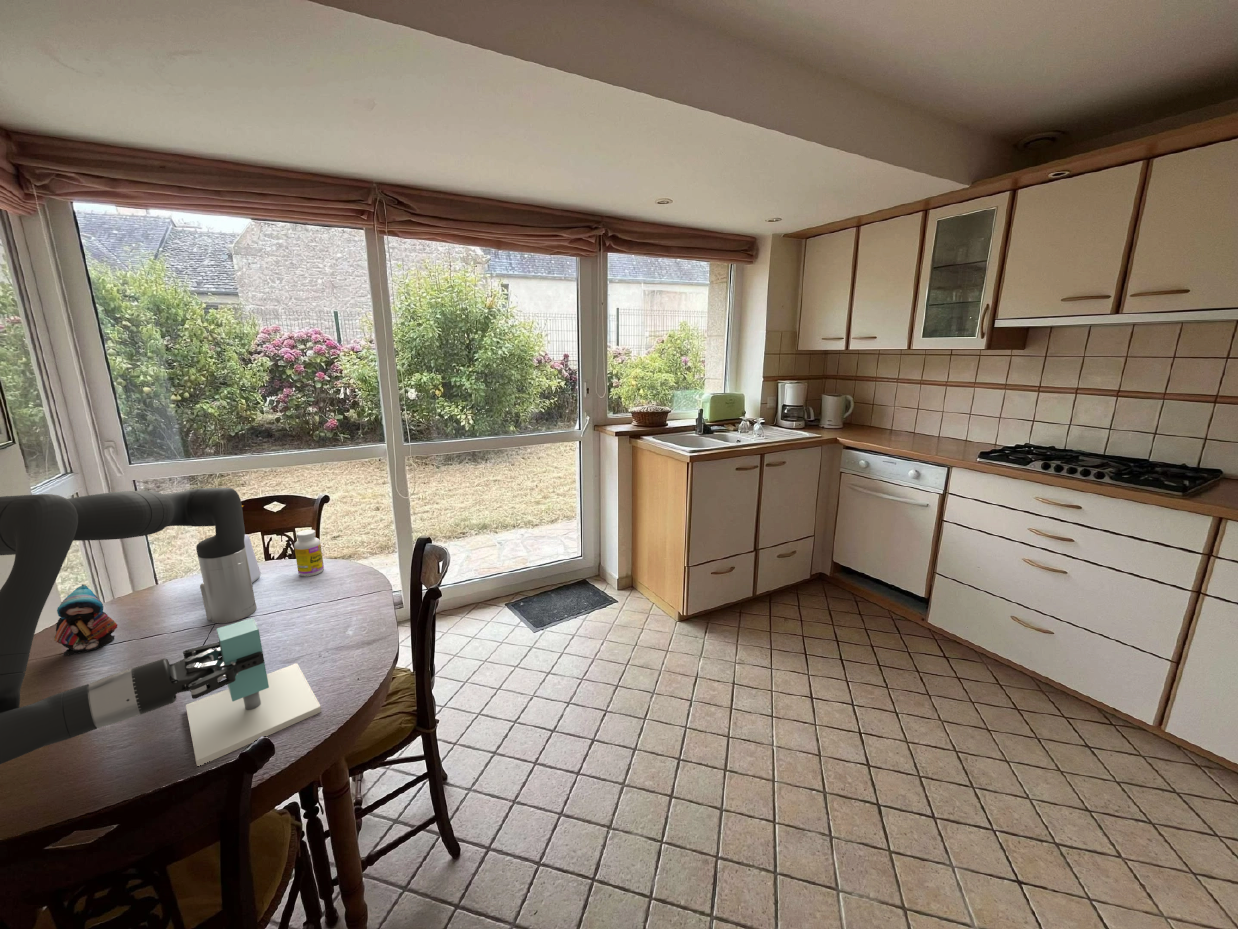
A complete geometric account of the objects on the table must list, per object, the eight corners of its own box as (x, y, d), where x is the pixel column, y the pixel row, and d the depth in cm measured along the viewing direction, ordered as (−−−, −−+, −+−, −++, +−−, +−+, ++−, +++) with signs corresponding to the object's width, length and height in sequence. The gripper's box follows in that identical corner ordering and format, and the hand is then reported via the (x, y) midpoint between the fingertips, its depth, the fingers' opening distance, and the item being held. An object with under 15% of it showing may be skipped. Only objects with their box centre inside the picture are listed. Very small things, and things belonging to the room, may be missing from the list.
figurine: (55, 664, 106) (36, 601, 103) (62, 649, 112) (44, 588, 108) (120, 647, 112) (104, 587, 109) (124, 633, 118) (108, 575, 114)
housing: (232, 701, 88) (220, 641, 85) (228, 687, 92) (216, 628, 89) (268, 687, 91) (258, 629, 89) (263, 674, 95) (253, 617, 93)
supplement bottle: (312, 578, 146) (306, 537, 143) (293, 576, 147) (286, 535, 144) (329, 568, 152) (323, 529, 149) (311, 566, 153) (305, 527, 150)
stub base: (197, 767, 81) (189, 734, 79) (187, 710, 93) (180, 680, 92) (321, 711, 93) (316, 682, 91) (297, 668, 105) (293, 641, 104)
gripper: (129, 693, 74) (264, 647, 86) (128, 652, 84) (249, 616, 96) (139, 736, 76) (271, 685, 88) (137, 691, 86) (256, 651, 98)
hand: (259, 649), depth 92 cm, fingers closed on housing, 5 cm apart
